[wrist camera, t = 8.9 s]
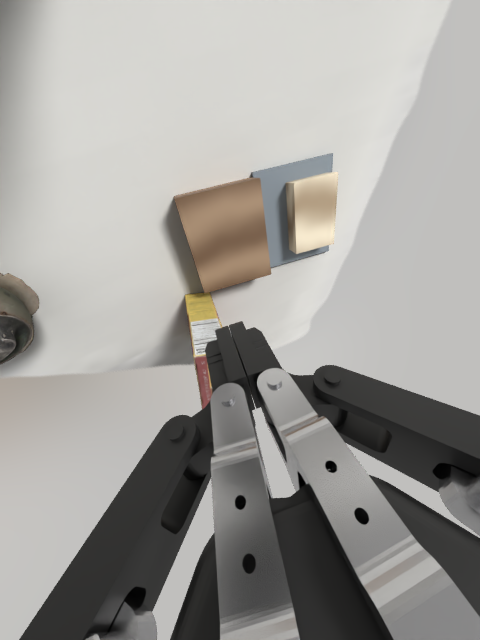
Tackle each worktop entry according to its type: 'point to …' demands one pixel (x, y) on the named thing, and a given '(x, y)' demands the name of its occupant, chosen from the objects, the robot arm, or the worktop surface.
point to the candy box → (202, 337)
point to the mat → (277, 204)
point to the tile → (311, 211)
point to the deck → (226, 232)
